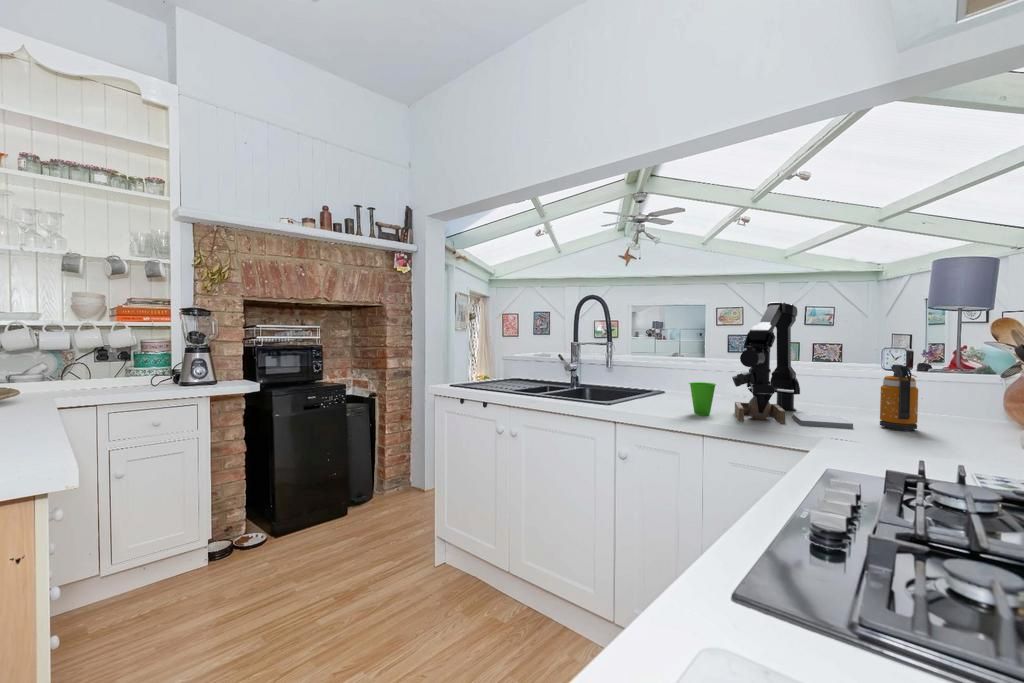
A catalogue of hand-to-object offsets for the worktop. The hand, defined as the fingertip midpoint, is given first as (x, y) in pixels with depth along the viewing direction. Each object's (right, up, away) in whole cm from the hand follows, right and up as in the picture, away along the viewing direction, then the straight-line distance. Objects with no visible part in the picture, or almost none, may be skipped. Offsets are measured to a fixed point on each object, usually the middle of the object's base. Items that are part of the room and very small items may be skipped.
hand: (759, 411), depth 161 cm
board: (+17, -3, -6) cm, 18 cm away
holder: (+1, -2, +1) cm, 3 cm away
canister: (+35, -3, -16) cm, 38 cm away
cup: (-16, -2, +8) cm, 18 cm away
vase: (0, -3, 0) cm, 3 cm away
